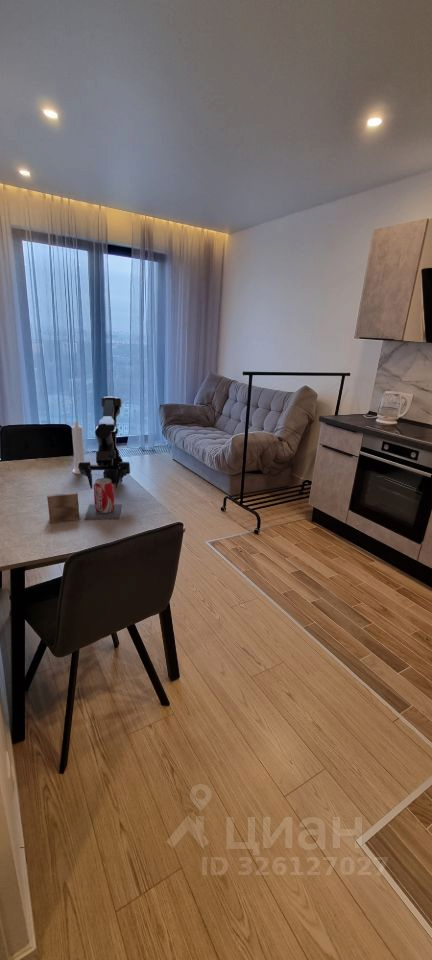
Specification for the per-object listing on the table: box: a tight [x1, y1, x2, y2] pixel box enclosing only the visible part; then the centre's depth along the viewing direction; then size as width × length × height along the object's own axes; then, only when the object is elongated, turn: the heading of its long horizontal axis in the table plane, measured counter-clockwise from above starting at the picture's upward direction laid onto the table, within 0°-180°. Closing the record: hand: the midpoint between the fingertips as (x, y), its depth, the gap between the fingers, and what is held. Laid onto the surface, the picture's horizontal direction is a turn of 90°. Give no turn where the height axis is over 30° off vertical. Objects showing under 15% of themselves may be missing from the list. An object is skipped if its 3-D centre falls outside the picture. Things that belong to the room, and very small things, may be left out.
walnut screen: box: [46, 491, 81, 524], centre depth 139 cm, size 10×4×9 cm, turn 112°
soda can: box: [93, 477, 115, 513], centre depth 145 cm, size 7×7×12 cm
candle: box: [71, 419, 86, 475], centre depth 183 cm, size 7×7×25 cm
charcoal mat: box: [84, 503, 122, 521], centre depth 147 cm, size 12×12×1 cm
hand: (103, 488), depth 147 cm, fingers open, 9 cm apart
